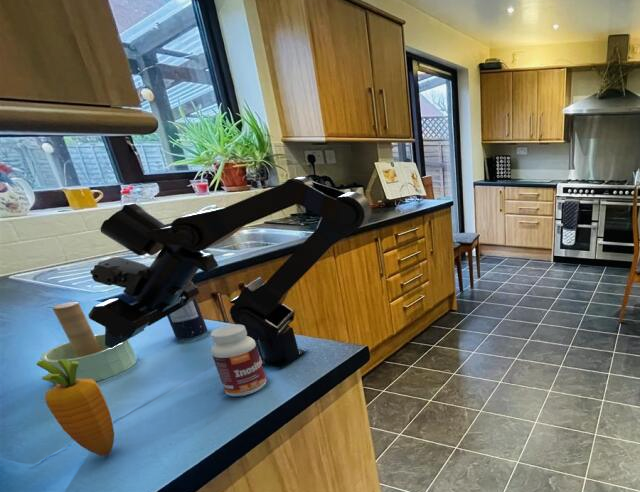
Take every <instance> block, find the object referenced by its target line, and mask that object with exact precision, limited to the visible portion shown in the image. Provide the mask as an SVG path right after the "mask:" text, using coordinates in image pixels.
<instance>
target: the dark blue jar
mask: <svg viewBox="0 0 640 492" xmlns="http://www.w3.org/2000/svg"><path fill="white" fill-rule="evenodd" d="M183 297H184V298H186V297H185V296H183ZM166 318H168V322H169V324H170V327H171V330H172V332H173V335H174V337H175V338H176V339H178V340H180V341H181V340H183V341H185V340H192V339H196V338H200V337H201V336H203V335H205V334H206V333H207V332H208V327H207V324H206V322H205V319H204V316H203V313H202V310H201V308H200V305H199V303H198V300H197V297H196V298H195V299H194V300H193V301H191V302H189V304H187V305H185V306H184V307H182V308H180V309H179V310H177V311H175V312H173V313H171V314H169V315H168V316H166Z"/></svg>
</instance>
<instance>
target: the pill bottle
mask: <svg viewBox="0 0 640 492" xmlns="http://www.w3.org/2000/svg"><path fill="white" fill-rule="evenodd" d="M210 336H211V338H212V341H213V343H214V344H213V345H212V347H211V349H210V353H211V356H212V359H213V362H214V364H215V367H216V370H217V373H218V377H219V380H220V382H221V384H222V387H223V390H224V393H225V394H226V395H228V396H229V397H243V396H248V395H253V394H254V393H256V392H258V391H259V390H261V389H262V388H263V387H265V386H266V383H267V377H266V374H265V370H264V367H263V365H262V363H261V360H260V358H261V357H260V356H259V353H258V349H257V346H256V343H255V340H253V339H252V338H251V337H248V336H247V331H246V328H245V326H244V325H241V324H235V323H234V324H227V325H223V326H221V327H217V328H215V329H214V330H212V332H210Z"/></svg>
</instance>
